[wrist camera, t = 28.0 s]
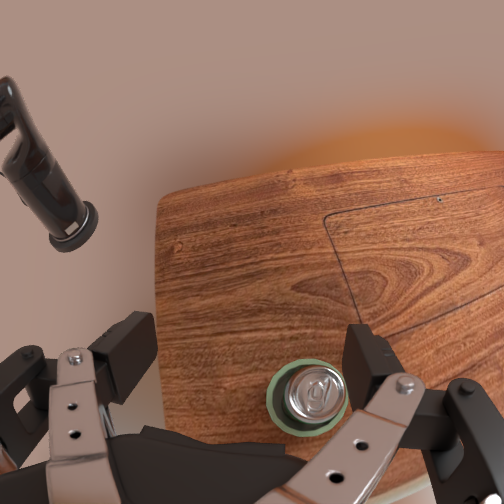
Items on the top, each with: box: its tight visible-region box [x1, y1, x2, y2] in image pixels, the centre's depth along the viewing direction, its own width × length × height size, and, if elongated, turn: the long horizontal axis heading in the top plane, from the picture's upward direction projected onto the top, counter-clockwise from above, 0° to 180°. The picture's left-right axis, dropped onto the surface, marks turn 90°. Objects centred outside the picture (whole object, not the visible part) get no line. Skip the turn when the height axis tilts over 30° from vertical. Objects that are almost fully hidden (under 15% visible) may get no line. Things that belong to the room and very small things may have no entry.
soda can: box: [281, 365, 346, 424], centre depth 25 cm, size 5×5×12 cm
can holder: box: [266, 359, 348, 437], centre depth 28 cm, size 8×8×6 cm
